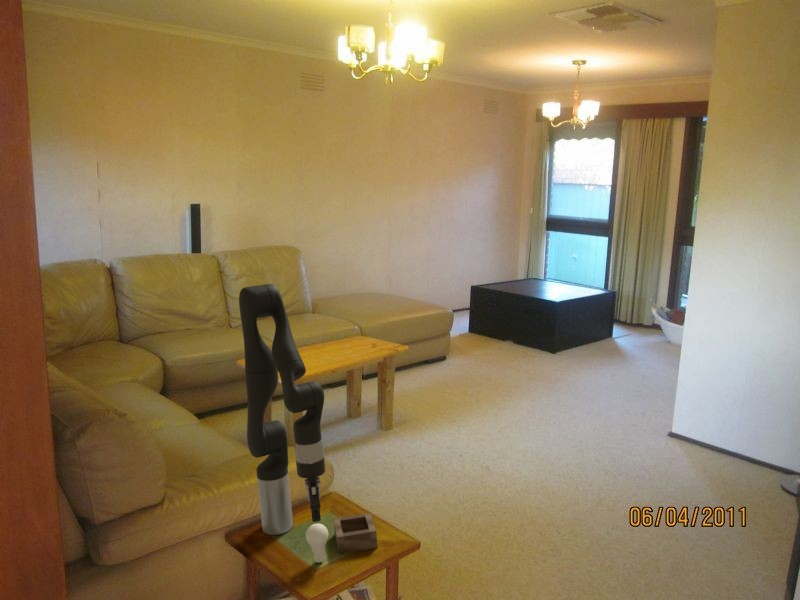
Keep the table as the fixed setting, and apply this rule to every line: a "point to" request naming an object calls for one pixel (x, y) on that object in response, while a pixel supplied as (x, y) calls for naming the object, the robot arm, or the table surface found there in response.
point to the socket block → (355, 533)
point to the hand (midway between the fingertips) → (315, 513)
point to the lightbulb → (317, 540)
